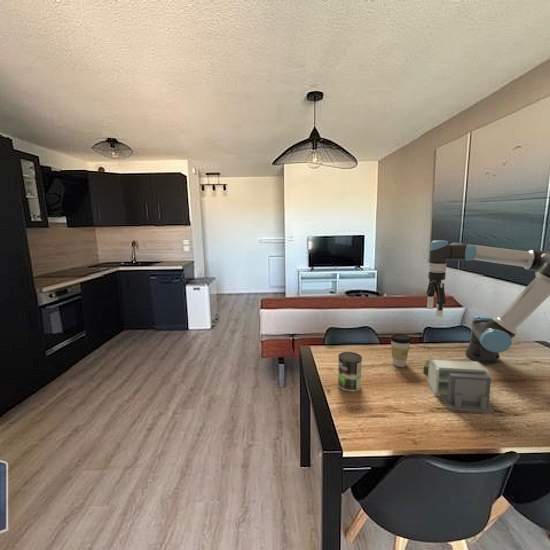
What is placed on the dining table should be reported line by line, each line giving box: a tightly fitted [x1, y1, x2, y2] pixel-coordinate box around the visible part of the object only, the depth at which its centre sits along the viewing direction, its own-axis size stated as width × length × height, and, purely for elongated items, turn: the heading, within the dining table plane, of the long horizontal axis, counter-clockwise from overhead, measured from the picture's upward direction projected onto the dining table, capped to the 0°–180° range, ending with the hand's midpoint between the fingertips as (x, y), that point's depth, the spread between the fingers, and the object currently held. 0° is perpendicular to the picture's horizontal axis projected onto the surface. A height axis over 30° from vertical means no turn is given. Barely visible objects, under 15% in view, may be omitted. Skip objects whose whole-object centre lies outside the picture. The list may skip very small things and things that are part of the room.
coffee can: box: [337, 351, 363, 392], centre depth 137 cm, size 10×10×14 cm
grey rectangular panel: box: [447, 373, 492, 407], centre depth 120 cm, size 14×3×12 cm, turn 80°
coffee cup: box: [389, 333, 412, 367], centre depth 157 cm, size 10×10×15 cm
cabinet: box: [427, 358, 495, 414], centre depth 126 cm, size 20×20×12 cm
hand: (434, 312), depth 156 cm, fingers open, 13 cm apart
